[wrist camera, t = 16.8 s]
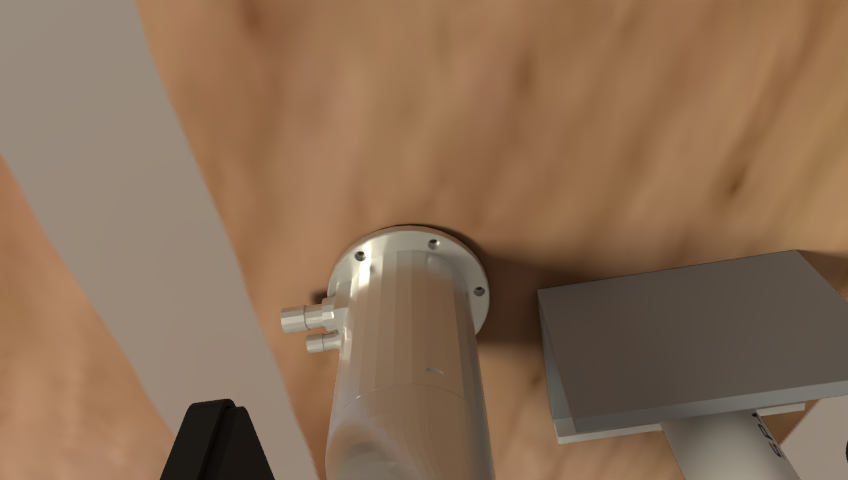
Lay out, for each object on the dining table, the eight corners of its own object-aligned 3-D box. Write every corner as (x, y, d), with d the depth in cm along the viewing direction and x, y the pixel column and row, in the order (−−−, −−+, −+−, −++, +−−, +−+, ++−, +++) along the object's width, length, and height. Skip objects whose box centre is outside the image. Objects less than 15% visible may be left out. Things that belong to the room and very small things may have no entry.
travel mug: (640, 392, 56) (748, 634, 38) (623, 334, 53) (732, 568, 35) (716, 370, 55) (861, 609, 38) (703, 309, 52) (855, 538, 34)
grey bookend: (550, 412, 60) (586, 555, 47) (536, 289, 53) (575, 418, 41) (780, 379, 58) (878, 517, 46) (795, 249, 52) (915, 370, 39)
